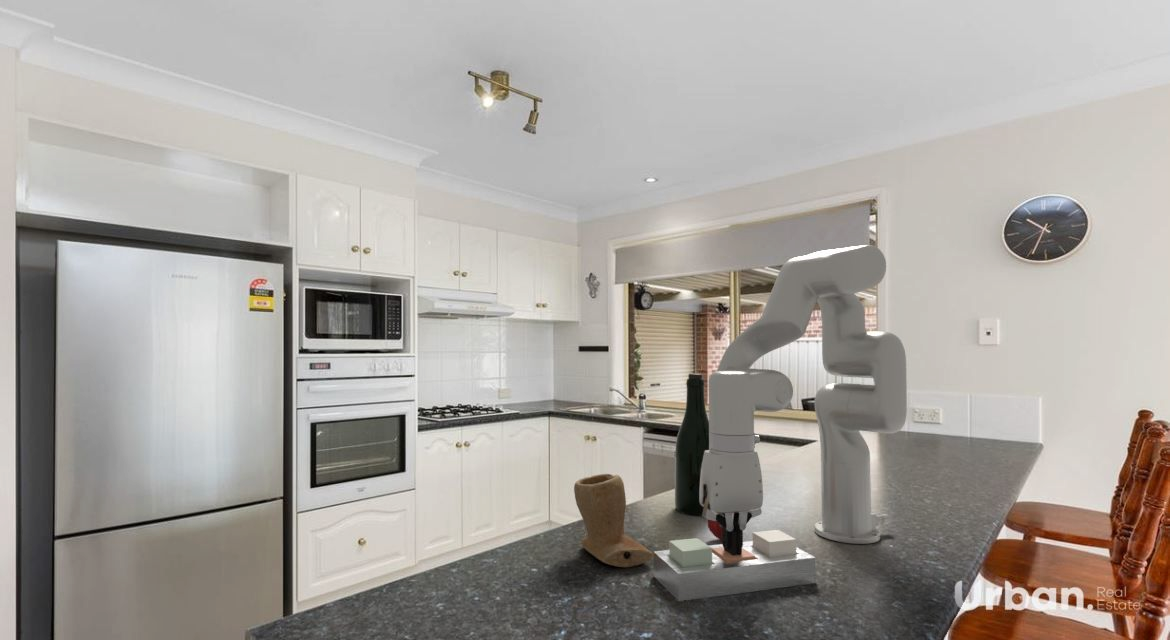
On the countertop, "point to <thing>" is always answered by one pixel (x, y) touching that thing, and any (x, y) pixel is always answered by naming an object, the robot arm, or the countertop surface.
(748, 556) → the terracotta key
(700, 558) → the sage key
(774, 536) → the cream key
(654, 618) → the countertop surface
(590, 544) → the brown hollow boot-shaped piece
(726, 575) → the keypad housing
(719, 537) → the onion
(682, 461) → the green wine bottle
